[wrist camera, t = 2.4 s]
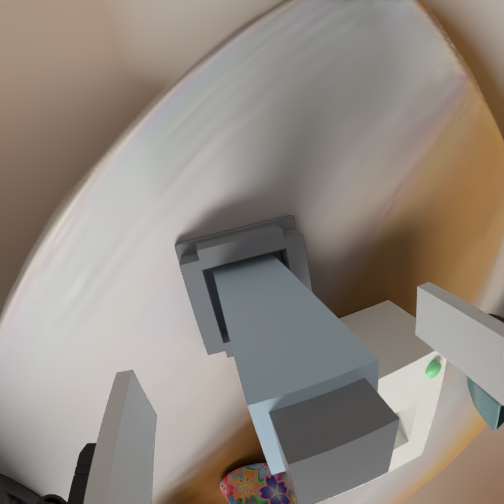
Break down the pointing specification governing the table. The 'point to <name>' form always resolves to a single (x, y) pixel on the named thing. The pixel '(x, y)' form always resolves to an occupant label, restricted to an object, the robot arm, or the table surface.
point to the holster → (227, 251)
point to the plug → (305, 381)
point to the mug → (257, 486)
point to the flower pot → (487, 406)
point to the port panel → (401, 374)
